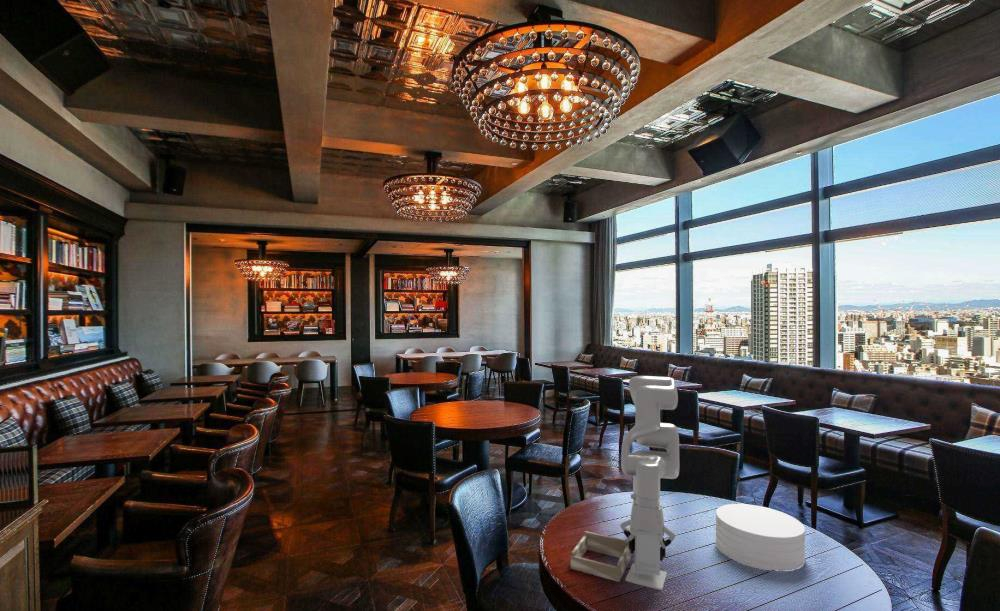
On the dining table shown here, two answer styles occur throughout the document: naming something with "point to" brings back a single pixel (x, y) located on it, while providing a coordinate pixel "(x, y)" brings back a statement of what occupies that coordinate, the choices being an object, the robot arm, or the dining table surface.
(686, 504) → the dining table surface
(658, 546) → the supplement box
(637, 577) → the mat
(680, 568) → the dining table surface
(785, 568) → the plate stack
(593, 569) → the cold frame
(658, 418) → the robot arm
